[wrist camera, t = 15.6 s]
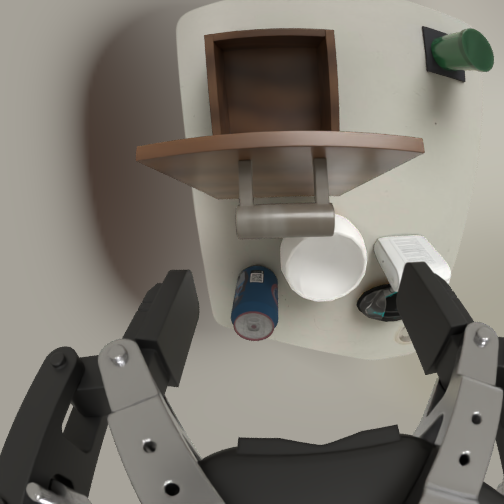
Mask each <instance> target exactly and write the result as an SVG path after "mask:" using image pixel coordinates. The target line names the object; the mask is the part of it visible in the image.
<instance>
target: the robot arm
mask: <svg viewBox="0 0 504 504" xmlns="http://www.w3.org/2000/svg"><path fill="white" fill-rule="evenodd" d="M396 305H397V310H398V312H399V314H400V316H401V319H402V321H403V323H404V325H405V327H406V329H407V332H408V334H409V336H410V338H411V341H412V343H413V345H414V348H415V350H416V352H417V355H418V357H419V360H420V362H421V365H422V367H423V370H424V372H425V375H428V374H432V373H437V374H438V376H439V377H438V378H437V380H436V382H435V384H434V387H433V391H432V393H431V396H430V399H429V401H428V404H427V407H426V409H425V412H424V414H423V417H422V419H421V421H420V424H419V425H418V427H417V429H416V430H415V432H414V433H413V435H407V434H399V429H398V425H393V426H388V427H382V428H377V429H371V430H366V431H361V432H358V433H356V434H353V435H351V436H348V437H345V438H343V439H340V440H337V441H334V442H331V443H328V444H324V445H316V444H309V443H303V442H297V441H292V440H286V439H281V438H240V437H239V439H238V447H232V448H228V449H225V450H221V451H219V452H216V453H213V454H211V455H209V456H207V457H205V458H204V459H202V457H201V456H200V454H199V453H198V451H197V450H196V448H195V447H194V445H193V443H192V442H191V440H190V439H189V437H188V436H187V434H186V432H185V431H184V429H183V427H182V426H181V424H180V422H179V420H178V419H177V417H176V415H175V413H174V411H173V409H172V407H171V406H170V404H169V402H168V400H167V398H166V396H165V392H166V388H167V386H173V387H178V386H179V383H180V379H181V376H182V372H183V369H184V365H185V362H186V359H187V355H188V352H189V348H190V345H191V341H192V338H193V335H194V332H195V328H196V325H197V322H198V318H199V302H198V297H197V293H196V289H195V285H194V280H193V276H192V273H191V271H190V270H170V271H169V272H168V274H167V276H166V278H165V279H164V281H163V283H157V284H156V285H155V286H154V287H153V288H151V289H150V290H149V291H148V292H147V294H146V296H145V298H144V299H143V303H141V305H140V306H139V308H138V311H137V312H136V314H135V315H134V318H133V319H132V321H131V323H130V325H129V327H128V329H127V330H126V332H125V334H124V336H123V338H122V339H118V340H115V341H112V342H110V343H109V344H107V345H106V346H105V347H104V348H103V349H102V350H101V352H100V354H99V355H97V356H89V357H82V358H79V356H78V355H77V353H76V352H75V350H74V349H72V348H71V347H60V348H57V349H55V350H53V351H52V352H51V353H50V354H49V355H48V356H47V357H46V359H45V360H44V362H43V364H42V366H41V368H40V369H39V372H38V373H37V375H36V377H35V379H34V381H33V383H32V385H31V386H30V388H29V390H28V392H27V395H26V396H25V398H24V400H23V402H22V405H21V407H20V409H19V411H18V413H17V416H16V418H15V420H14V422H13V424H12V427H11V429H10V431H9V434H8V437H7V439H6V441H5V444H4V447H3V449H2V452H1V455H0V504H91V502H90V501H89V499H88V496H89V491H90V487H91V483H92V479H93V475H94V471H95V467H96V464H97V460H98V456H99V453H100V449H101V446H102V442H103V439H104V435H105V432H106V429H107V426H108V424H109V427H110V430H111V433H112V436H113V439H114V442H115V445H116V447H117V450H118V452H119V455H120V458H121V460H122V463H123V465H124V467H125V470H126V472H127V475H128V477H129V479H130V481H131V484H132V486H133V488H134V490H135V492H136V494H137V496H138V498H139V500H140V502H141V504H504V478H503V482H502V483H500V484H499V485H498V487H497V490H495V489H493V488H492V487H491V486H489V485H488V484H486V483H485V482H483V480H484V478H485V474H486V471H487V468H488V465H489V462H490V458H491V455H492V451H493V446H494V443H495V439H496V442H497V446H498V450H499V455H500V459H501V464H502V469H503V474H504V337H498V336H497V334H496V332H495V331H494V330H493V329H492V328H491V327H490V326H488V325H486V324H484V323H481V322H474V321H473V319H472V318H471V316H470V315H469V313H468V312H467V310H466V309H465V307H464V306H463V304H462V303H461V302H460V300H459V299H458V298H457V296H456V295H455V293H454V292H453V291H452V289H451V287H450V286H449V285H448V283H447V282H446V281H445V280H444V279H443V278H441V277H440V276H439V275H437V274H436V273H433V271H432V270H431V269H430V267H429V266H428V265H427V263H426V262H424V261H421V262H407V263H406V264H405V265H404V268H403V273H402V277H401V281H400V285H399V289H398V293H397V297H396ZM70 403H71V404H72V405H73V409H72V411H71V414H70V416H69V419H68V421H67V424H66V427H65V430H64V432H63V433H62V423H63V420H64V418H65V415H66V413H67V410H68V408H69V405H70Z"/></svg>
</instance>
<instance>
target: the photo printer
mask: <svg viewBox="0 0 504 504" xmlns="http://www.w3.org/2000/svg"><path fill="white" fill-rule="evenodd" d="M374 252H375V254H376V258H377V260H378V262H379V264H380V266H381V268H382V269H383V271H384V273H385V275H386V277H387V279H388V281H389V283H390V285H391V287H392V289H393V290H394V291H395V292H398V289H399V285H400V281H401V277H402V273H403V268H404V265H405V264H406V263H407V262H421V261H424V262H426V263H427V265H428V266H429V267H430V269H431V270H432V271H433V273H436V274H437V275H439V276H440V277H441V278H443V279H444V280H445V281H446V282H447V283H448V284H449V280H450V278H451V271H450V268H449V265H448V264H447V262H446V261H445V260H444V259H443V258H442V256H441V255H440V254H439V253H438V252H437V251H436V249H435V248H434V247H433V246H432V245H431V244H430V242H429V241H428V240H427V239H426V238H425V237H424V236H421V235H405V236H389V237H381V238H378V240H377V241H376V242H375V244H374Z"/></svg>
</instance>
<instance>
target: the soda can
mask: <svg viewBox="0 0 504 504" xmlns="http://www.w3.org/2000/svg"><path fill="white" fill-rule="evenodd" d="M231 321H232V323H233V325H234V330H235V332H236V333H237V334H238V335H239V336H240V337H242V338H244V339H246V340H251V341H259V340H263V339H266V338H268V337H269V336H270V335H271V334H272V333H273V331H274V328H275V327H276V326H277V323H278V281H277V278H276V276H275V274H274V273H273V272H272V271H271V270H269V269H268V268H266V267H263V266H251V267H249V268H246V269H245V270H243V271H242V272H241V273H240V275H239V276H238V279H237V285H236V290H235V296H234V302H233V307H232V313H231Z"/></svg>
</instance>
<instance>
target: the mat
mask: <svg viewBox="0 0 504 504" xmlns="http://www.w3.org/2000/svg"><path fill="white" fill-rule="evenodd" d="M422 29H423V36H424V44H425V54H426V66H427V71H429V72H433V73H436V74H440V75H444V76H447V77H450V78H454V79H457V80H460V81H463V82H465V71H447V70H445V69H443V68H441V67H440V66H439V65H438V64H437V62H436V61H435V59H434V58H433V55H432V52H431V44H432V41H433V40H434V39H435V38H437V37H441V36H445V35H448V34H446V33H443V32H440V31H437V30H434V29H431V28H428V27H424V26H422Z"/></svg>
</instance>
